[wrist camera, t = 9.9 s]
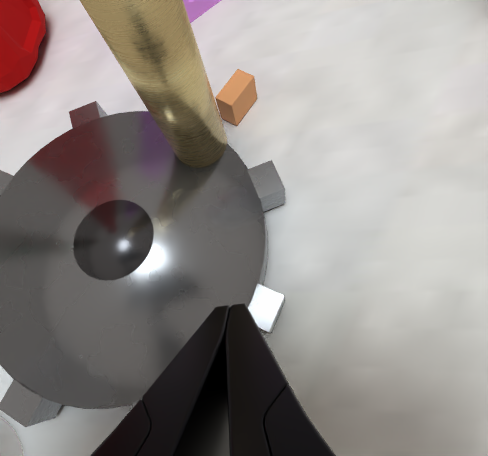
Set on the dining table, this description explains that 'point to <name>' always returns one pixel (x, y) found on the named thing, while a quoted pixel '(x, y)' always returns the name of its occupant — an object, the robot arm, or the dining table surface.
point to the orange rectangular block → (237, 97)
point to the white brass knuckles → (9, 440)
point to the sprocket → (128, 229)
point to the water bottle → (19, 40)
